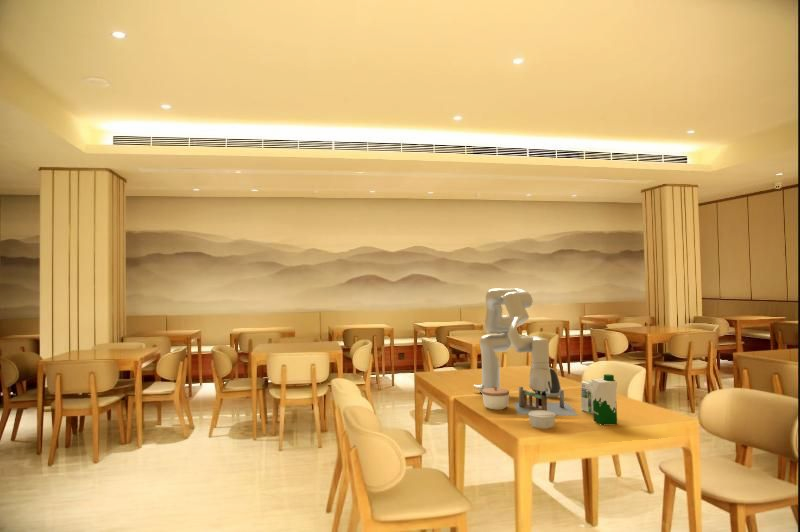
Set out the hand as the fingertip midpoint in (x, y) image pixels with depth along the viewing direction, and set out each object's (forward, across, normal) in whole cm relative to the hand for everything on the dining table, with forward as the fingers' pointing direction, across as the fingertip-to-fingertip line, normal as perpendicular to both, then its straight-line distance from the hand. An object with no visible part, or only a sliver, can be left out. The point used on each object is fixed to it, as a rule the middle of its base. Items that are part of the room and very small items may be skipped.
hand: (541, 405), depth 240 cm
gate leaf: (+2, -2, -2) cm, 4 cm away
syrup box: (+4, +12, +18) cm, 22 cm away
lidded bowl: (+4, -17, -12) cm, 22 cm away
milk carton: (+4, +25, +12) cm, 28 cm away
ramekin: (+4, +14, -13) cm, 20 cm away
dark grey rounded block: (+4, -22, +27) cm, 35 cm away
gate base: (+4, -3, +5) cm, 7 cm away
